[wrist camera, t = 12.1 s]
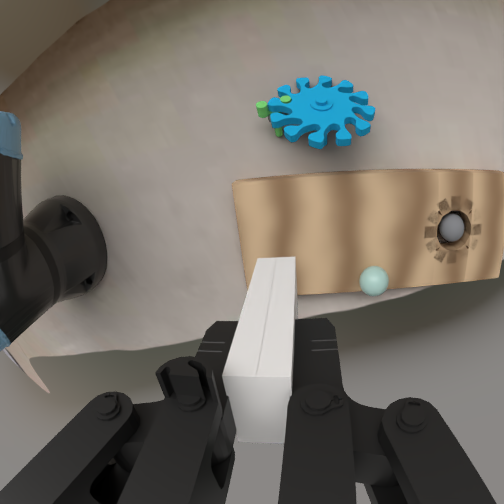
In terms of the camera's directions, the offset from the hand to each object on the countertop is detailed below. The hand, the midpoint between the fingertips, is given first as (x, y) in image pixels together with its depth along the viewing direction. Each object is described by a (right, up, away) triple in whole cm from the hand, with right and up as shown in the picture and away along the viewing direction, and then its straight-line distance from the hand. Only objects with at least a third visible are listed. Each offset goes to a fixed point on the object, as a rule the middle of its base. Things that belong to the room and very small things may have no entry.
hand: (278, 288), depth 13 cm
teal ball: (+12, -2, +18) cm, 22 cm away
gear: (+5, +16, +17) cm, 24 cm away
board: (+14, +4, +20) cm, 25 cm away
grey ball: (+21, +4, +17) cm, 28 cm away
